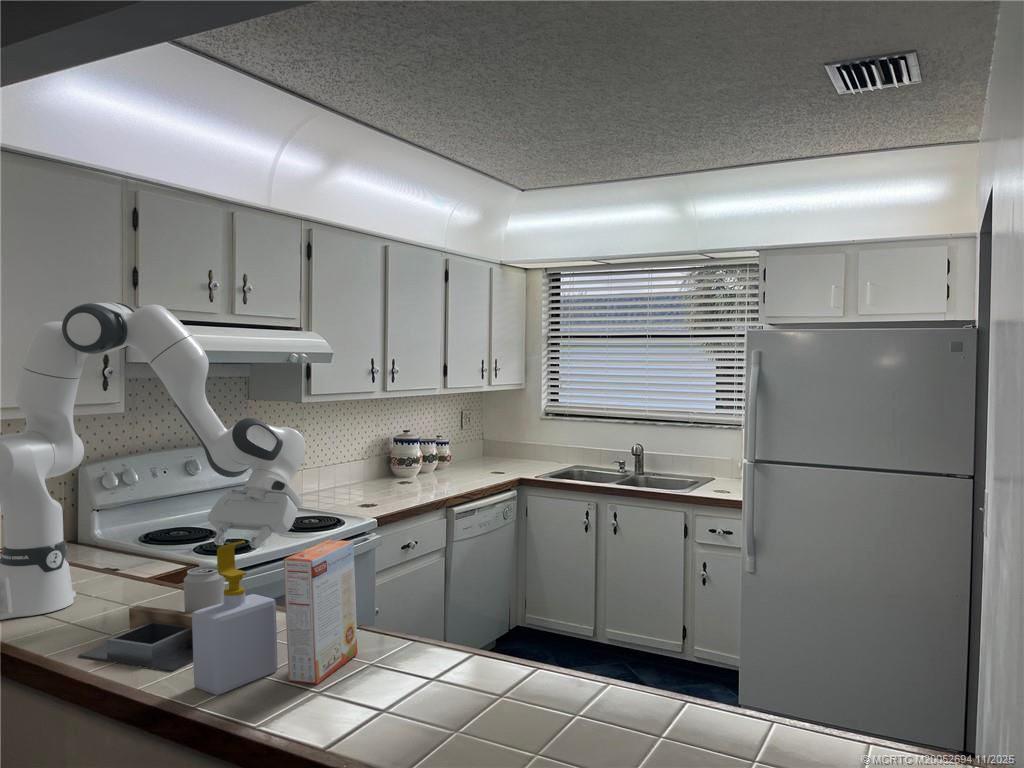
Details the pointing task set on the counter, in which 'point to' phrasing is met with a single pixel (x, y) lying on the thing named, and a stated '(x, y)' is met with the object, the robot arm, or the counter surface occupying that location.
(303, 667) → the cracker box
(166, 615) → the wooden plank
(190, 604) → the can
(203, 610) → the soap bottle
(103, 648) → the socket
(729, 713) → the counter surface
